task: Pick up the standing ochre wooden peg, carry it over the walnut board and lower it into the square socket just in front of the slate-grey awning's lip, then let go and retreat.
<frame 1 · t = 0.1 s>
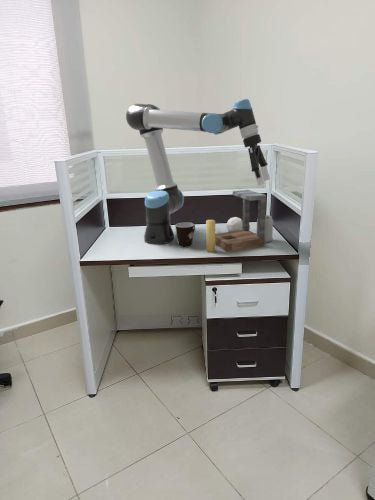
hand: (264, 182, 158), 28 cm above the table, fingers open, 13 cm apart
socket board: (237, 244, 164), on the table
can: (264, 240, 167), on the table
coffee mug: (188, 244, 166), on the table
peg: (211, 251, 156), on the table
white rounded lump: (237, 234, 179), on the table
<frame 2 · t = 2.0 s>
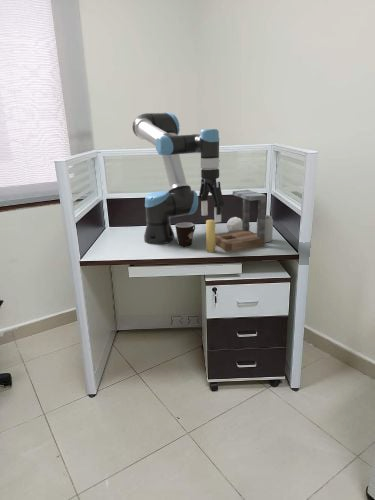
hand: (211, 218, 151), 15 cm above the table, fingers open, 13 cm apart
nothing on the table moved.
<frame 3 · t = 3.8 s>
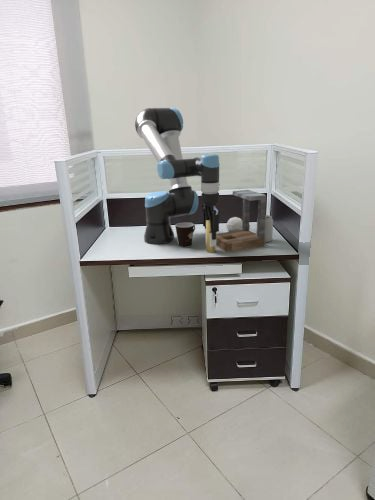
hand: (210, 244, 155), 3 cm above the table, fingers closed on peg, 4 cm apart
peg: (211, 251, 156), on the table, touching gripper
everything else where it was.
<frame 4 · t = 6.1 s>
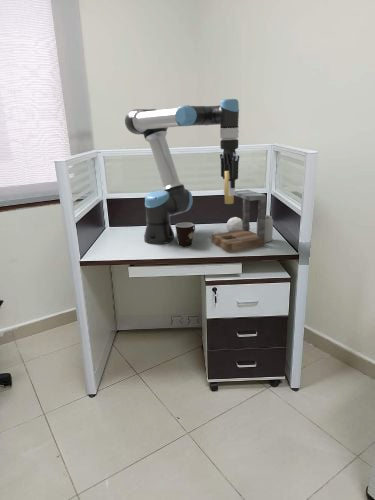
hand: (229, 194, 154), 24 cm above the table, fingers closed on peg, 4 cm apart
peg: (229, 203, 155), point 20 cm above the table, touching gripper
everything else where it was.
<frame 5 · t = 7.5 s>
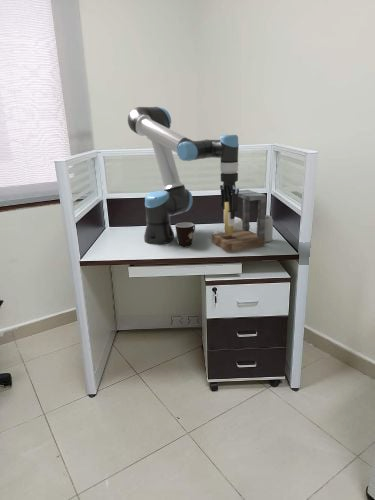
hand: (229, 224, 159), 10 cm above the table, fingers closed on peg, 4 cm apart
peg: (229, 232, 160), point 6 cm above the table, touching gripper
everything else where it was.
when the fingers open (6 cm above the table, at t = 8.5 s): peg drops 2 cm, resting in socket board.
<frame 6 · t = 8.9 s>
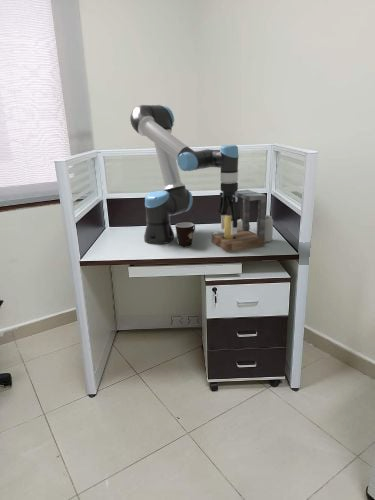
hand: (228, 231, 160), 7 cm above the table, fingers open, 9 cm apart
peg: (228, 245, 162), resting in socket board
everything else where it was.
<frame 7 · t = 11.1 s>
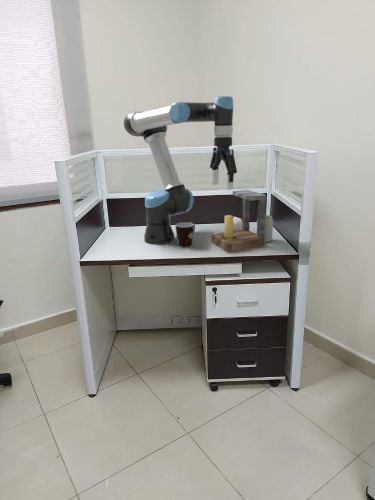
hand: (222, 187, 154), 27 cm above the table, fingers open, 13 cm apart
nothing on the table moved.
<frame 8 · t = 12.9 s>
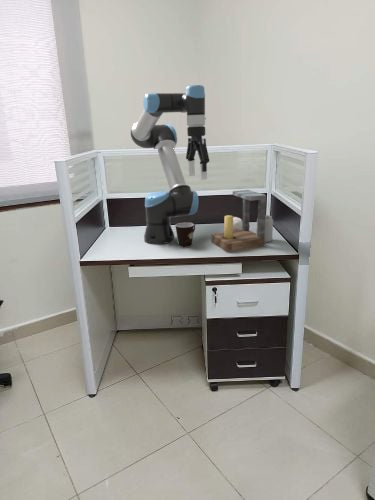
hand: (197, 177, 153), 32 cm above the table, fingers open, 13 cm apart
nothing on the table moved.
at the end: peg 0.1 cm from the target spot on the socket board, point 0.0 cm above the socket board's base; peg tilted 0°; the gripper is holding nothing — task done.
